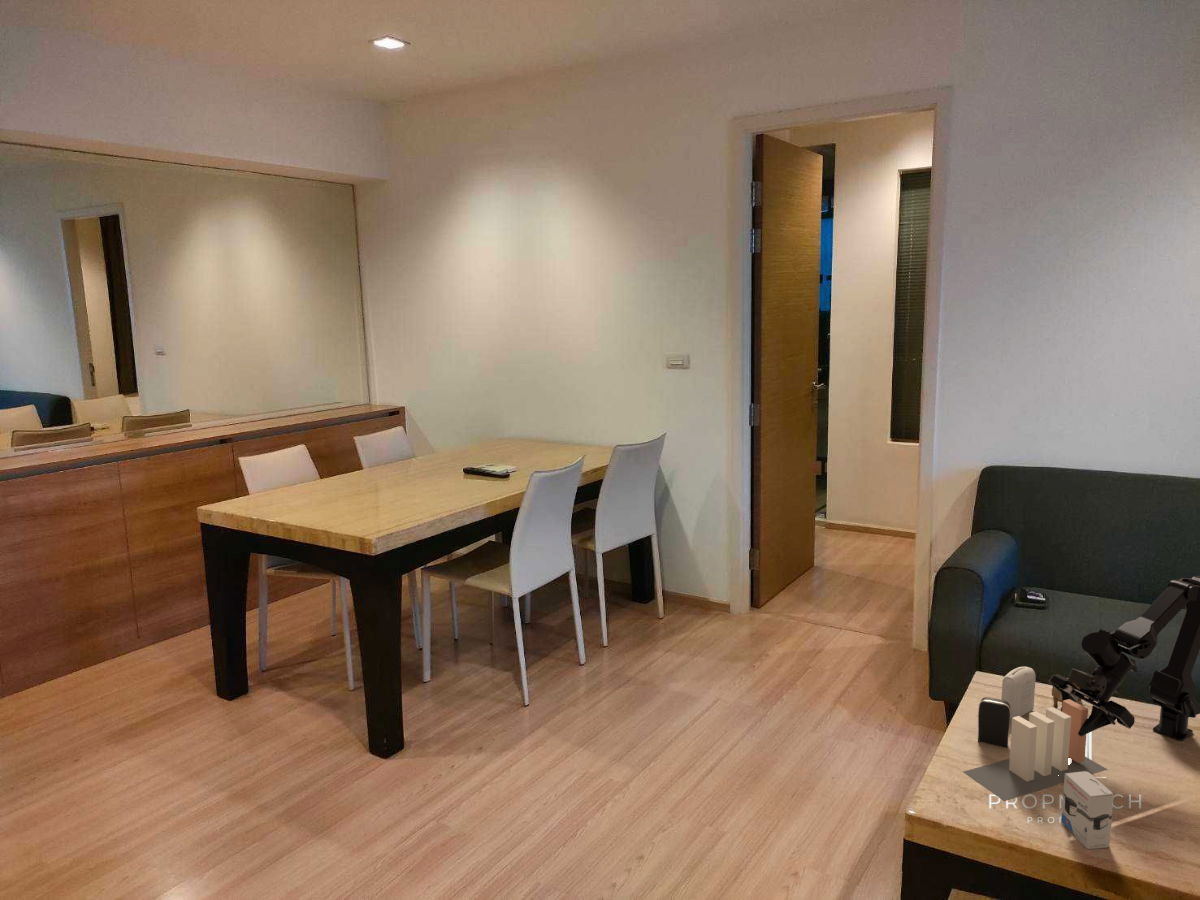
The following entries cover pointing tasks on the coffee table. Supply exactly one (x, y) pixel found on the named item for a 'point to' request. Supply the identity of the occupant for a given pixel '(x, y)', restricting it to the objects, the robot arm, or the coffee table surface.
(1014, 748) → the ivory domino
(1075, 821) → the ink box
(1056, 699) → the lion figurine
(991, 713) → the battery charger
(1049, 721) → the ivory domino
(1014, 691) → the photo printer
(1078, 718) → the terracotta domino
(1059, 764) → the ivory domino
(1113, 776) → the coffee table surface
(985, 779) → the domino mat
